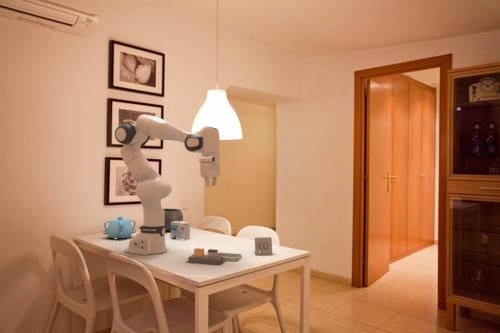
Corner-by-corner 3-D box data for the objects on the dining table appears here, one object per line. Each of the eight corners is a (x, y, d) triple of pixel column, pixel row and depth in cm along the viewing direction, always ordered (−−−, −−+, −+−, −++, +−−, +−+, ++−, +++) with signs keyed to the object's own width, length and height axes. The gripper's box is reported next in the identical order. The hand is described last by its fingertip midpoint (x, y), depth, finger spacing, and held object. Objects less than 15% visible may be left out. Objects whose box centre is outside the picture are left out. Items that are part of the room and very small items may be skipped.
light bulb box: (170, 238, 236) (170, 221, 236) (175, 237, 243) (176, 220, 243) (184, 240, 232) (184, 223, 232) (190, 238, 239) (190, 221, 239)
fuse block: (184, 264, 176) (185, 257, 176) (191, 260, 183) (191, 253, 183) (221, 267, 171) (221, 260, 171) (226, 263, 179) (226, 256, 179)
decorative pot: (120, 234, 247) (120, 214, 247) (138, 237, 240) (138, 216, 240) (100, 238, 233) (100, 217, 233) (119, 241, 226) (119, 219, 226)
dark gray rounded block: (168, 234, 252) (169, 212, 252) (147, 231, 262) (147, 209, 262) (188, 230, 269) (188, 209, 269) (167, 227, 280) (168, 207, 280)
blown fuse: (207, 262, 176) (207, 250, 176) (209, 261, 178) (209, 249, 178) (216, 263, 175) (216, 250, 175) (217, 262, 177) (217, 249, 177)
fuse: (193, 261, 178) (194, 249, 178) (195, 260, 180) (195, 248, 180) (202, 262, 177) (202, 249, 177) (203, 261, 179) (204, 248, 179)
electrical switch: (255, 255, 196) (255, 237, 197) (253, 254, 201) (253, 237, 202) (272, 255, 198) (272, 237, 198) (270, 254, 203) (270, 236, 204)
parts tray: (213, 261, 182) (213, 256, 182) (218, 257, 191) (219, 252, 191) (236, 263, 179) (236, 258, 179) (241, 259, 188) (241, 254, 188)
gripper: (211, 159, 198) (211, 185, 197) (197, 158, 178) (197, 187, 177) (223, 159, 196) (223, 185, 196) (210, 158, 176) (210, 187, 176)
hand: (210, 186), depth 187 cm, fingers open, 8 cm apart
